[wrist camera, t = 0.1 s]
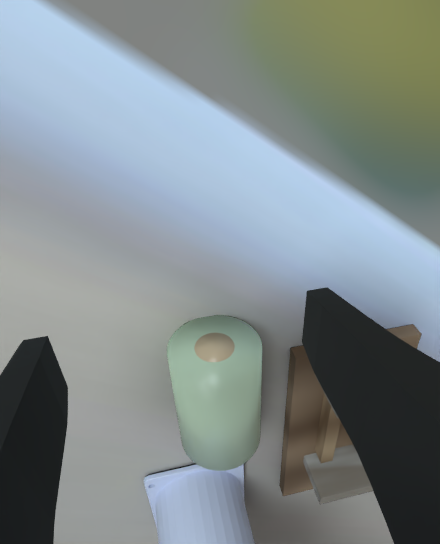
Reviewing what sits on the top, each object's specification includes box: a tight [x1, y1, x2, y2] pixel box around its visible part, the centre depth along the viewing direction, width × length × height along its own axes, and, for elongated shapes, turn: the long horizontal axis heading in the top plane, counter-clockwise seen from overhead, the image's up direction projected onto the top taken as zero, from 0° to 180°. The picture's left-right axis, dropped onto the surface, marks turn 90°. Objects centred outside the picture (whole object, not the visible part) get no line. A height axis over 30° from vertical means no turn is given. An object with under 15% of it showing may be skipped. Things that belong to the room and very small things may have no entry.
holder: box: [280, 324, 421, 504], centre depth 32 cm, size 18×9×4 cm, turn 2°
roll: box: [167, 315, 262, 471], centre depth 25 cm, size 8×5×5 cm, turn 2°
